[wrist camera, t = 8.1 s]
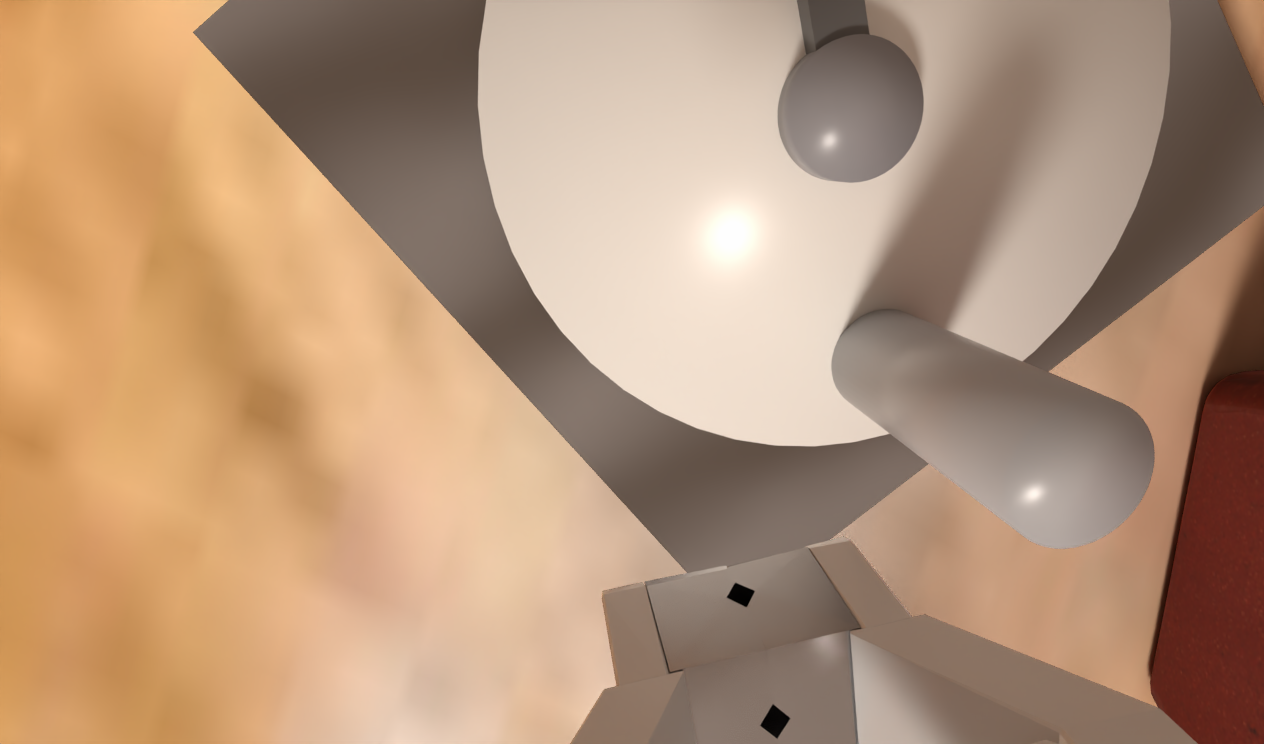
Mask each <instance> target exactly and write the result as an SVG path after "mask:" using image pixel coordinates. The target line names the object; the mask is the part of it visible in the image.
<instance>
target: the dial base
mask: <svg viewBox="0 0 1264 744" xmlns="http://www.w3.org/2000/svg"><path fill="white" fill-rule="evenodd" d="M485 6H486V0H229V1H227V2H226V3H225V4H224V5H223V6H222V7H221V8H220V9H218V10H217V11H216V12H215V13H214V14H213V15H212V16H211V17H210V18H208V19H207V20H206V21H205V22H204V23H203V24H202V25H201V26H199V27H198V28H197V29H196V30H195V31H194V32H193V33H194V34H195V35H196V36H197V37H198V38H199V39H200V41H201V42H202V43H203V44H204V45H205V46H206V47H207V48H208V49H209V50H210V51H211V53H212V54H213V55H214V56H215V57H216V58H217V59H218V60H219V61H220V62H221V64H222V65H223V66H224V67H225V68H226V69H227V70H228V71H229V72H230V73H231V74H232V76H233V77H234V78H235V79H236V80H237V81H238V82H239V83H240V84H241V85H242V86H243V88H244V89H245V90H246V91H247V92H248V93H249V94H250V95H251V96H252V97H253V99H254V100H255V101H256V102H257V103H258V104H259V105H260V106H261V107H262V108H263V109H264V111H265V112H266V113H267V114H268V115H269V116H270V117H271V118H272V119H273V120H274V121H275V123H276V124H277V125H278V126H279V127H280V128H281V129H282V130H283V131H284V132H285V133H286V135H287V136H288V137H289V138H290V139H291V140H292V141H293V142H294V143H295V144H296V146H297V147H298V148H299V149H300V150H301V151H302V152H303V153H304V154H305V155H306V156H307V158H308V159H309V160H310V161H311V162H312V163H313V164H314V165H315V166H316V167H317V168H318V170H319V171H320V172H321V173H322V174H323V175H324V176H325V177H326V178H327V179H328V181H329V182H330V183H331V184H332V185H333V186H334V187H335V188H336V189H337V190H338V191H339V193H340V194H341V195H342V196H343V197H344V198H345V199H346V200H347V201H348V202H349V203H350V205H351V206H352V207H353V208H354V209H355V210H356V211H357V212H358V213H359V214H360V215H361V217H362V218H363V219H364V220H365V221H366V222H367V223H368V224H369V225H370V226H371V228H372V229H373V230H374V231H375V232H376V233H377V234H378V235H379V236H380V237H381V238H382V240H383V241H384V242H385V243H386V244H387V245H388V246H389V247H390V248H391V249H392V250H393V252H394V253H395V254H396V255H397V256H398V257H399V258H400V259H401V260H402V261H403V263H404V264H405V265H406V266H407V267H408V268H409V269H410V270H411V271H412V272H413V273H414V275H415V276H416V277H417V278H418V279H419V280H420V281H421V282H422V283H423V284H424V285H425V287H426V288H427V289H428V290H429V291H430V292H431V293H432V294H433V295H434V296H435V298H436V299H437V300H438V301H439V302H440V303H441V304H442V305H443V306H444V307H445V308H446V310H447V311H448V312H449V313H450V314H451V315H452V316H453V317H454V318H455V319H456V320H457V322H458V323H459V324H460V325H461V326H462V327H463V328H464V329H465V330H466V331H467V332H468V334H469V335H470V336H471V337H472V338H473V339H474V340H475V341H476V342H477V343H478V345H479V346H480V347H481V348H482V349H483V350H484V351H485V352H486V353H487V354H488V355H489V357H490V358H491V359H492V360H493V361H494V362H495V363H496V364H497V365H498V366H499V367H500V369H501V370H502V371H503V372H504V373H505V374H506V375H507V376H508V377H509V378H510V380H511V381H512V382H513V383H514V384H515V385H516V386H517V387H518V388H519V389H520V390H521V392H522V393H523V394H524V395H525V396H526V397H527V398H528V399H529V400H530V401H531V402H532V404H533V405H534V406H535V407H536V408H537V409H538V410H539V411H540V412H541V413H542V414H543V416H544V417H545V418H546V419H547V420H548V421H549V422H550V423H551V424H552V425H553V427H554V428H555V429H556V430H557V431H558V432H559V433H560V434H561V435H562V436H563V437H564V439H565V440H566V441H567V442H568V443H569V444H570V445H571V446H572V447H573V448H574V449H575V451H576V452H577V453H578V454H579V455H580V456H581V457H582V458H583V459H584V460H585V462H586V463H587V464H588V465H589V466H590V467H591V468H592V469H593V470H594V471H595V472H596V474H597V475H598V476H599V477H600V478H601V479H602V480H603V481H604V482H605V483H606V484H607V486H608V487H609V488H610V489H611V490H612V491H613V492H614V493H615V494H616V495H617V497H618V498H619V499H620V500H621V501H622V502H623V503H624V504H625V505H626V506H627V507H628V509H629V510H630V511H631V512H632V513H633V514H634V515H635V516H636V517H637V518H638V519H639V521H640V522H641V523H642V524H643V525H644V526H645V527H646V528H647V529H648V530H649V531H650V533H651V534H652V535H653V536H654V537H655V538H656V539H657V540H658V541H659V542H660V544H661V545H662V546H663V547H664V548H665V549H666V550H667V551H668V552H669V553H670V554H671V556H672V557H673V558H674V559H675V560H676V561H677V562H678V563H679V564H680V565H681V566H682V568H683V569H684V570H685V571H686V572H687V573H690V572H695V571H700V570H705V569H710V568H715V567H720V566H725V565H726V566H730V565H734V564H738V563H742V562H746V561H751V560H755V559H759V558H763V557H767V556H772V555H776V554H780V553H784V552H788V551H793V550H797V549H801V548H804V547H805V546H809V545H813V544H817V543H820V542H824V541H828V540H830V539H831V538H833V537H834V536H835V535H837V534H838V533H839V532H840V531H842V530H843V529H844V528H846V527H847V526H848V525H850V524H851V523H852V522H853V521H855V520H856V519H857V518H859V517H860V516H861V515H863V514H864V513H865V512H866V511H868V510H869V509H870V508H872V507H873V506H874V505H876V504H877V503H878V502H879V501H881V500H882V499H883V498H885V497H886V496H887V495H889V494H890V493H891V492H892V491H894V490H895V489H896V488H898V487H899V486H900V485H902V484H903V483H904V482H905V481H907V480H908V479H909V478H911V477H912V476H913V475H915V474H916V473H917V472H918V471H920V470H921V469H922V468H924V467H925V466H926V465H928V464H929V463H927V462H926V461H925V460H923V459H922V458H921V457H919V456H918V455H917V454H916V453H914V452H913V451H912V450H910V449H909V448H908V447H906V446H905V445H904V444H903V443H901V442H900V441H899V440H897V439H896V438H895V437H893V436H892V435H891V434H887V435H882V436H878V437H874V438H870V439H865V440H861V441H857V442H851V443H841V444H832V445H823V446H775V445H768V444H761V443H755V442H748V441H742V440H735V439H732V438H728V437H725V436H721V435H718V434H715V433H711V432H708V431H704V430H701V429H697V428H695V427H693V426H690V425H688V424H686V423H684V422H681V421H679V420H677V419H675V418H672V417H670V416H668V415H665V414H663V413H661V412H659V411H657V410H656V409H654V408H652V407H651V406H649V405H648V404H646V403H644V402H643V401H641V400H639V399H638V398H636V397H634V396H633V395H631V394H630V393H628V392H626V391H625V390H623V389H622V388H621V387H620V386H618V385H617V384H616V383H615V382H614V381H612V380H611V379H610V378H609V377H607V376H606V375H605V374H604V373H602V372H601V371H600V370H599V369H598V368H596V367H595V366H594V365H593V364H591V363H590V362H589V360H588V359H587V358H586V357H585V356H584V355H583V354H582V353H581V352H580V351H579V350H578V349H577V348H576V347H575V346H574V344H573V343H572V342H571V341H570V340H569V339H568V338H567V337H566V336H565V335H564V334H563V333H562V332H561V330H560V329H559V328H558V326H557V325H556V323H555V322H554V321H553V319H552V318H551V316H550V315H549V314H548V312H547V311H546V309H545V308H544V307H543V305H542V304H541V302H540V301H539V300H538V298H537V297H536V295H535V294H534V292H533V290H532V288H531V287H530V285H529V283H528V281H527V279H526V277H525V275H524V273H523V272H522V270H521V268H520V266H519V264H518V262H517V260H516V258H515V257H514V255H513V253H512V250H511V248H510V245H509V242H508V240H507V237H506V234H505V232H504V229H503V226H502V224H501V221H500V218H499V216H498V213H497V210H496V208H495V204H494V200H493V196H492V192H491V188H490V183H489V179H488V175H487V171H486V166H485V162H484V158H483V149H482V140H481V131H480V121H479V112H478V69H479V47H480V40H481V33H482V26H483V20H484V13H485ZM1169 7H1170V18H1171V38H1170V72H1169V79H1168V86H1167V93H1166V101H1165V108H1164V115H1163V120H1162V124H1161V128H1160V132H1159V136H1158V140H1157V144H1156V148H1155V152H1154V156H1153V160H1152V164H1151V167H1150V170H1149V172H1148V175H1147V178H1146V180H1145V183H1144V186H1143V189H1142V191H1141V194H1140V197H1139V200H1138V202H1137V205H1136V208H1135V210H1134V212H1133V214H1132V216H1131V218H1130V220H1129V222H1128V224H1127V226H1126V228H1125V230H1124V232H1123V234H1122V236H1121V238H1120V240H1119V242H1118V244H1117V246H1116V248H1115V250H1114V251H1113V253H1112V255H1111V256H1110V258H1109V259H1108V261H1107V263H1106V264H1105V266H1104V267H1103V269H1102V271H1101V272H1100V274H1099V275H1098V277H1097V279H1096V280H1095V282H1094V283H1093V285H1092V286H1091V288H1090V289H1089V290H1088V291H1087V293H1086V294H1085V295H1084V297H1083V298H1082V299H1081V300H1080V302H1079V303H1078V304H1077V305H1076V307H1075V308H1074V309H1073V311H1072V312H1071V313H1070V314H1069V316H1068V317H1067V318H1066V319H1065V321H1064V322H1063V323H1062V324H1061V325H1060V326H1059V327H1058V328H1057V329H1056V330H1055V331H1054V332H1053V333H1052V334H1051V335H1050V336H1049V337H1048V338H1047V339H1046V340H1045V341H1044V342H1043V343H1042V344H1041V345H1040V346H1039V347H1038V348H1037V349H1036V350H1035V351H1034V352H1033V353H1032V354H1031V355H1029V356H1028V357H1027V358H1026V359H1025V360H1023V362H1025V363H1028V364H1030V365H1032V366H1035V367H1037V368H1039V369H1042V370H1044V371H1047V372H1048V371H1050V370H1051V369H1052V368H1054V367H1055V366H1056V365H1058V364H1059V363H1060V362H1061V361H1063V360H1064V359H1065V358H1067V357H1068V356H1069V355H1071V354H1072V353H1073V352H1074V351H1076V350H1077V349H1078V348H1080V347H1081V346H1082V345H1084V344H1085V343H1086V342H1087V341H1089V340H1090V339H1091V338H1093V337H1094V336H1095V335H1097V334H1098V333H1099V332H1100V331H1102V330H1103V329H1104V328H1106V327H1107V326H1108V325H1110V324H1111V323H1112V322H1113V321H1115V320H1116V319H1117V318H1119V317H1120V316H1121V315H1123V314H1124V313H1125V312H1126V311H1128V310H1129V309H1130V308H1132V307H1133V306H1134V305H1136V304H1137V303H1138V302H1139V301H1141V300H1142V299H1143V298H1145V297H1146V296H1147V295H1149V294H1150V293H1151V292H1152V291H1154V290H1155V289H1156V288H1158V287H1159V286H1160V285H1162V284H1163V283H1164V282H1165V281H1167V280H1168V279H1169V278H1171V277H1172V276H1173V275H1175V274H1176V273H1177V272H1178V271H1180V270H1181V269H1182V268H1184V267H1185V266H1186V265H1188V264H1189V263H1190V262H1191V261H1193V260H1194V259H1195V258H1197V257H1198V256H1199V255H1201V254H1202V253H1203V252H1204V251H1206V250H1207V249H1208V248H1210V247H1211V246H1212V245H1214V244H1215V243H1216V242H1217V241H1219V240H1220V239H1221V238H1223V237H1224V236H1225V235H1227V234H1228V233H1229V232H1230V231H1232V230H1233V229H1234V228H1236V227H1237V226H1238V225H1240V224H1241V223H1242V222H1243V221H1245V220H1246V219H1247V218H1249V217H1250V216H1251V215H1253V214H1254V213H1255V212H1256V211H1258V210H1259V209H1260V208H1262V207H1263V206H1264V106H1263V104H1262V102H1261V99H1260V97H1259V95H1258V92H1257V90H1256V88H1255V86H1254V83H1253V81H1252V79H1251V76H1250V74H1249V72H1248V69H1247V67H1246V65H1245V63H1244V60H1243V58H1242V56H1241V53H1240V51H1239V49H1238V47H1237V44H1236V42H1235V40H1234V37H1233V35H1232V33H1231V31H1230V28H1229V26H1228V24H1227V21H1226V19H1225V17H1224V15H1223V12H1222V10H1221V8H1220V5H1219V3H1218V1H1217V0H1169Z"/></svg>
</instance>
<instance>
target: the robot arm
mask: <svg viewBox="0 0 1264 744" xmlns="http://www.w3.org/2000/svg"><path fill="white" fill-rule="evenodd" d="M602 602H603V608H604V614H605V620H606V626H607V632H608V638H609V644H610V650H611V656H612V662H613V668H614V674H615V680H616V686H615V687H611V688H607V689H604V690H603V692H602V693H601V695H600V696H599V698H598V700H597V701H596V703H595V705H594V706H593V708H592V709H591V711H590V713H589V714H588V716H587V717H586V719H585V721H584V722H583V724H582V726H581V727H580V729H579V730H578V732H577V734H576V735H575V737H574V739H573V740H572V742H571V743H570V744H1198V743H1197V742H1195V741H1194V740H1193V739H1192V738H1191V737H1190V736H1189V735H1188V734H1187V733H1186V732H1185V731H1184V730H1182V729H1181V728H1180V727H1179V726H1178V725H1177V724H1176V723H1175V722H1174V721H1173V720H1172V719H1171V718H1170V717H1168V716H1167V715H1166V714H1165V713H1164V712H1163V711H1162V710H1161V709H1160V708H1157V707H1155V706H1152V705H1150V704H1147V703H1145V702H1142V701H1140V700H1137V699H1135V698H1132V697H1130V696H1127V695H1125V694H1122V693H1120V692H1117V691H1115V690H1112V689H1110V688H1107V687H1105V686H1102V685H1100V684H1097V683H1095V682H1092V681H1090V680H1087V679H1085V678H1082V677H1080V676H1077V675H1075V674H1072V673H1070V672H1067V671H1065V670H1062V669H1060V668H1057V667H1055V666H1052V665H1050V664H1047V663H1045V662H1042V661H1040V660H1037V659H1035V658H1032V657H1030V656H1027V655H1025V654H1022V653H1020V652H1017V651H1015V650H1012V649H1010V648H1007V647H1005V646H1002V645H1000V644H997V643H995V642H992V641H990V640H987V639H985V638H982V637H980V636H977V635H975V634H972V633H970V632H967V631H965V630H962V629H960V628H957V627H955V626H952V625H950V624H947V623H945V622H942V621H940V620H937V619H935V618H932V617H930V616H927V615H925V614H924V615H920V616H915V617H912V616H911V615H910V614H909V612H908V611H907V610H906V609H905V607H904V606H903V605H902V604H901V602H900V601H899V600H898V599H897V597H896V596H895V595H894V594H893V592H892V591H891V590H890V589H889V587H888V586H887V585H886V583H885V582H884V581H883V580H882V578H881V577H880V576H879V575H878V573H877V572H876V571H875V570H874V568H873V567H872V566H871V565H870V563H869V562H868V561H867V560H866V558H865V557H864V556H863V555H862V553H861V552H860V551H859V550H858V548H857V547H856V546H855V544H854V543H853V542H852V541H851V539H848V538H846V537H840V538H836V539H832V540H828V541H824V542H820V543H817V544H813V545H809V546H805V547H804V548H801V549H797V550H793V551H788V552H784V553H780V554H776V555H772V556H767V557H763V558H759V559H755V560H751V561H746V562H742V563H738V564H734V565H730V566H726V565H725V566H720V567H715V568H710V569H705V570H700V571H695V572H690V573H685V574H680V575H675V576H670V577H665V578H660V579H655V580H651V581H646V582H645V585H644V584H643V583H642V582H640V583H636V584H631V585H627V586H623V587H618V588H614V589H609V590H605V591H602Z"/></svg>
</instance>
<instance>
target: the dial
mask: <svg viewBox="0 0 1264 744" xmlns="http://www.w3.org/2000/svg"><path fill="white" fill-rule="evenodd" d="M1170 38H1171V18H1170V7H1169V0H486V6H485V13H484V20H483V26H482V33H481V40H480V47H479V69H478V112H479V121H480V131H481V140H482V149H483V158H484V162H485V166H486V171H487V175H488V179H489V183H490V188H491V192H492V196H493V200H494V204H495V208H496V210H497V213H498V216H499V218H500V221H501V224H502V226H503V229H504V232H505V234H506V237H507V240H508V242H509V245H510V248H511V250H512V253H513V255H514V257H515V258H516V260H517V262H518V264H519V266H520V268H521V270H522V272H523V273H524V275H525V277H526V279H527V281H528V283H529V285H530V287H531V288H532V290H533V292H534V294H535V295H536V297H537V298H538V300H539V301H540V302H541V304H542V305H543V307H544V308H545V309H546V311H547V312H548V314H549V315H550V316H551V318H552V319H553V321H554V322H555V323H556V325H557V326H558V328H559V329H560V330H561V332H562V333H563V334H564V335H565V336H566V337H567V338H568V339H569V340H570V341H571V342H572V343H573V344H574V346H575V347H576V348H577V349H578V350H579V351H580V352H581V353H582V354H583V355H584V356H585V357H586V358H587V359H588V360H589V362H590V363H591V364H593V365H594V366H595V367H596V368H598V369H599V370H600V371H601V372H602V373H604V374H605V375H606V376H607V377H609V378H610V379H611V380H612V381H614V382H615V383H616V384H617V385H618V386H620V387H621V388H622V389H623V390H625V391H626V392H628V393H630V394H631V395H633V396H634V397H636V398H638V399H639V400H641V401H643V402H644V403H646V404H648V405H649V406H651V407H652V408H654V409H656V410H657V411H659V412H661V413H663V414H665V415H668V416H670V417H672V418H675V419H677V420H679V421H681V422H684V423H686V424H688V425H690V426H693V427H695V428H697V429H701V430H704V431H708V432H711V433H715V434H718V435H721V436H725V437H728V438H732V439H735V440H742V441H748V442H755V443H761V444H768V445H775V446H823V445H832V444H841V443H851V442H857V441H861V440H865V439H870V438H874V437H878V436H882V435H887V434H891V435H892V436H893V437H895V438H896V439H897V440H899V441H900V442H901V443H903V444H904V445H905V446H906V447H908V448H909V449H910V450H912V451H913V452H914V453H916V454H917V455H918V456H919V457H921V458H922V459H923V460H925V461H926V462H927V463H929V464H930V465H931V466H932V467H934V468H935V469H936V470H938V471H939V472H940V473H942V474H943V475H944V476H945V477H947V478H948V479H949V480H951V481H952V482H953V483H955V484H956V485H957V486H959V487H960V488H961V489H962V490H964V491H965V492H966V493H968V494H969V495H970V496H972V497H973V498H974V499H975V500H977V501H978V502H979V503H981V504H982V505H983V506H985V507H986V508H987V509H988V510H990V511H991V512H992V513H994V514H995V515H996V516H998V517H999V518H1000V519H1002V520H1003V521H1004V522H1005V523H1007V524H1008V525H1009V526H1011V527H1012V528H1013V529H1015V530H1016V531H1017V532H1018V533H1020V534H1021V535H1022V536H1024V537H1025V538H1027V539H1028V540H1030V541H1031V542H1033V543H1036V544H1038V545H1041V546H1044V547H1048V548H1055V549H1067V548H1075V547H1079V546H1083V545H1086V544H1089V543H1092V542H1094V541H1096V540H1098V539H1100V538H1102V537H1104V536H1106V535H1107V534H1109V533H1110V532H1112V531H1113V530H1115V529H1116V528H1117V527H1118V526H1120V525H1121V524H1122V523H1123V522H1124V521H1125V520H1126V519H1127V518H1128V517H1129V516H1130V515H1131V513H1132V512H1133V511H1134V510H1135V509H1136V507H1137V506H1138V504H1139V503H1140V501H1141V500H1142V498H1143V496H1144V494H1145V492H1146V490H1147V488H1148V485H1149V483H1150V480H1151V476H1152V473H1153V467H1154V444H1153V440H1152V436H1151V433H1150V431H1149V429H1148V426H1147V425H1146V423H1145V422H1144V420H1143V419H1142V418H1141V417H1140V416H1139V414H1138V413H1137V412H1135V411H1134V410H1133V409H1131V408H1130V407H1128V406H1126V405H1125V404H1123V403H1121V402H1118V401H1116V400H1113V399H1111V398H1109V397H1106V396H1104V395H1101V394H1099V393H1097V392H1094V391H1092V390H1090V389H1087V388H1085V387H1082V386H1080V385H1078V384H1075V383H1073V382H1070V381H1068V380H1066V379H1063V378H1061V377H1059V376H1056V375H1054V374H1051V373H1049V372H1047V371H1044V370H1042V369H1039V368H1037V367H1035V366H1032V365H1030V364H1028V363H1025V362H1023V360H1025V359H1026V358H1027V357H1028V356H1029V355H1031V354H1032V353H1033V352H1034V351H1035V350H1036V349H1037V348H1038V347H1039V346H1040V345H1041V344H1042V343H1043V342H1044V341H1045V340H1046V339H1047V338H1048V337H1049V336H1050V335H1051V334H1052V333H1053V332H1054V331H1055V330H1056V329H1057V328H1058V327H1059V326H1060V325H1061V324H1062V323H1063V322H1064V321H1065V319H1066V318H1067V317H1068V316H1069V314H1070V313H1071V312H1072V311H1073V309H1074V308H1075V307H1076V305H1077V304H1078V303H1079V302H1080V300H1081V299H1082V298H1083V297H1084V295H1085V294H1086V293H1087V291H1088V290H1089V289H1090V288H1091V286H1092V285H1093V283H1094V282H1095V280H1096V279H1097V277H1098V275H1099V274H1100V272H1101V271H1102V269H1103V267H1104V266H1105V264H1106V263H1107V261H1108V259H1109V258H1110V256H1111V255H1112V253H1113V251H1114V250H1115V248H1116V246H1117V244H1118V242H1119V240H1120V238H1121V236H1122V234H1123V232H1124V230H1125V228H1126V226H1127V224H1128V222H1129V220H1130V218H1131V216H1132V214H1133V212H1134V210H1135V208H1136V205H1137V202H1138V200H1139V197H1140V194H1141V191H1142V189H1143V186H1144V183H1145V180H1146V178H1147V175H1148V172H1149V170H1150V167H1151V164H1152V160H1153V156H1154V152H1155V148H1156V144H1157V140H1158V136H1159V132H1160V128H1161V124H1162V120H1163V115H1164V108H1165V101H1166V93H1167V86H1168V79H1169V72H1170Z"/></svg>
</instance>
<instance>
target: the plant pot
mask: <svg viewBox="0 0 1264 744" xmlns="http://www.w3.org/2000/svg"><path fill="white" fill-rule="evenodd" d="M1150 685H1151V694H1152V696H1153V698H1154V700H1155V702H1156V704H1157V706H1158V708H1160V709H1161V710H1162V711H1163V712H1164V713H1165V714H1166V715H1167V716H1168V717H1170V718H1171V719H1172V720H1173V721H1174V722H1175V723H1176V724H1177V725H1178V726H1179V727H1180V728H1181V729H1182V730H1184V731H1185V732H1186V733H1187V734H1188V735H1189V736H1190V737H1191V738H1192V739H1193V740H1194V741H1195V742H1197V743H1198V744H1264V370H1258V371H1245V372H1240V373H1236V374H1232V375H1229V376H1227V377H1226V378H1224V379H1222V380H1221V381H1219V382H1218V383H1217V384H1216V385H1215V387H1214V388H1213V389H1212V390H1211V392H1210V393H1209V395H1208V397H1207V399H1206V402H1205V405H1204V409H1203V413H1202V418H1201V423H1200V429H1199V434H1198V440H1197V445H1196V451H1195V456H1194V461H1193V466H1192V471H1191V476H1190V481H1189V486H1188V491H1187V496H1186V501H1185V506H1184V511H1183V516H1182V522H1181V527H1180V532H1179V537H1178V542H1177V548H1176V553H1175V558H1174V563H1173V568H1172V574H1171V579H1170V584H1169V589H1168V594H1167V599H1166V605H1165V610H1164V615H1163V620H1162V625H1161V630H1160V635H1159V640H1158V645H1157V650H1156V655H1155V660H1154V665H1153V670H1152V676H1151V681H1150Z"/></svg>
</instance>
